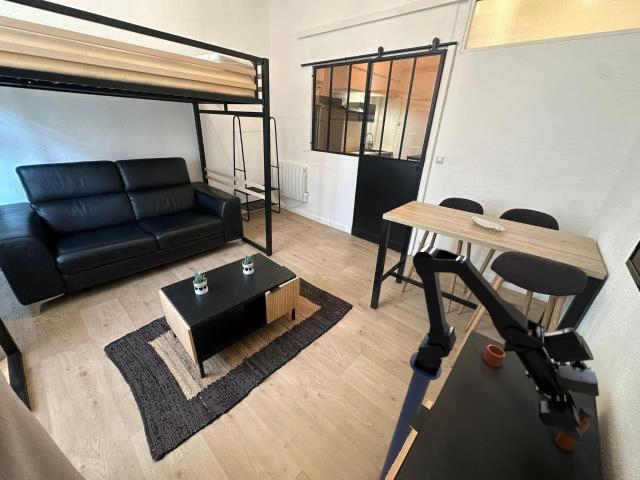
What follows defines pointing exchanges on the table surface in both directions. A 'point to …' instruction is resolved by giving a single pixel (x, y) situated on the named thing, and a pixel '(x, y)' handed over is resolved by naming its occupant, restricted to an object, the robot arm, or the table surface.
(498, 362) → the pot
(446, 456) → the table surface
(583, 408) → the spice bottle
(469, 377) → the table surface
